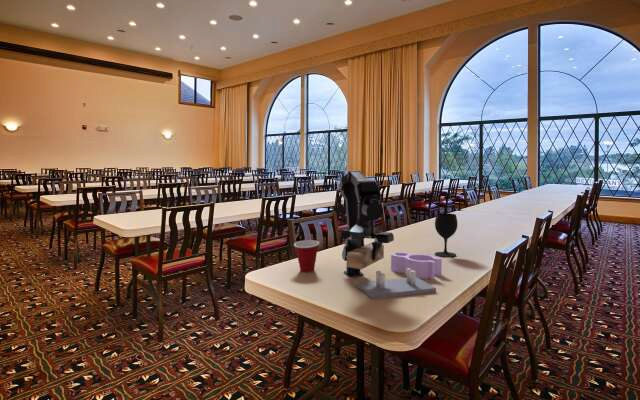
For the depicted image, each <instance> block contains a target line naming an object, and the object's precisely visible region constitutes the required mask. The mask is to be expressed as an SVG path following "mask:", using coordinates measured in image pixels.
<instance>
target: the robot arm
mask: <svg viewBox="0 0 640 400" xmlns="http://www.w3.org/2000/svg"><path fill="white" fill-rule="evenodd" d="M338 185H339V191H340V194H341V197H342V198H343V200H344V201H345V211H346V212H345V213H346V224H347V225H346V227H347V228H345V229H342V230H340V232H339V238H340V239H345V241H344V246H343V247H342V248H343V249H342V252H341V257H342V260H343V261H344V262H346V265H347V253H348V252H350V251H352V250H355V249H357V248H360V247H362V246H365V245H366V244H365V239H371V240H374V241H372V242H371V243H372V245H373V253H372V259H373V261H374V260H375V258H376V256H377V254H378V251H379V249H380V247H381V245H384V244H389V243H392V242H394V240H395V237H394V235H395V234H393V233H392V232H388V231H382V232H379V233H377V229H375V224H376V223H375V222H376V221H378V220H379V219H381V218H382V216H383V214H384V209H383V207H382V205H381V204H380V203H378V201H382V194H381V189H380V187H379V185H378V183H377V182H376V180H374V179H368V178H366V176H364V175H363V174H362V172H361V171H360V170H348V171H347V173H346V174H345V175H344V176H342V177H341V178H340V181H339V184H338ZM357 201H358V203H357ZM343 273H344V274H345V275H346V276H348V277H357V276H364V273H363V272H362V269H357V268H350V267H347V266H346V270H344V271H343Z"/></svg>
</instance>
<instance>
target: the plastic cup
mask: <svg viewBox="0 0 640 400" xmlns="http://www.w3.org/2000/svg"><path fill="white" fill-rule="evenodd" d="M319 245H320V241H318V240H313V239H312V240H311V239H308V240H307V239H306V240H299V241H296V242H294V243H293V247H294V248H295V251H296V255H297V260H298V265H299V270H300V271H301V272H304V273H310V272H314V270H315V267H316V263H317V262H316V261H317V255H318V248H319Z"/></svg>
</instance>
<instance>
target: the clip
mask: <svg viewBox="0 0 640 400" xmlns="http://www.w3.org/2000/svg"><path fill="white" fill-rule="evenodd" d="M442 258H443V257H437V256H434V255H431V254H424V253H409V252H405V251H396V252H395V253H390V270H391V271H392V272H394V273H401V274H405V275H406V269H407V268H410V269H412V271H416V277H417V278H419V279H430V280H435V276H442V270H443V269H442V266H443V265H442V263H443V259H442Z"/></svg>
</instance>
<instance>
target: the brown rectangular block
mask: <svg viewBox="0 0 640 400" xmlns="http://www.w3.org/2000/svg"><path fill="white" fill-rule="evenodd" d="M364 245H365V246H362V247H360V248H357V249H355V250H352V251H350V252H348V253H347V256H346V257H347V264H346V268H347V267H350V268H357V269H361V270H363V269H366V268H368V267H369V266H370V265H373V264H374V263H376V262H378V261H380V260H382V259H384V257H385V255H384V254H385V252H384V250H385V247H384V246H385V244H382V245H381V247H380V249H379V251H378V254H377V256H376V258H375V260H374V261H373V259H372V253H373V245H372V242H370V243H367V244H364Z"/></svg>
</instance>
